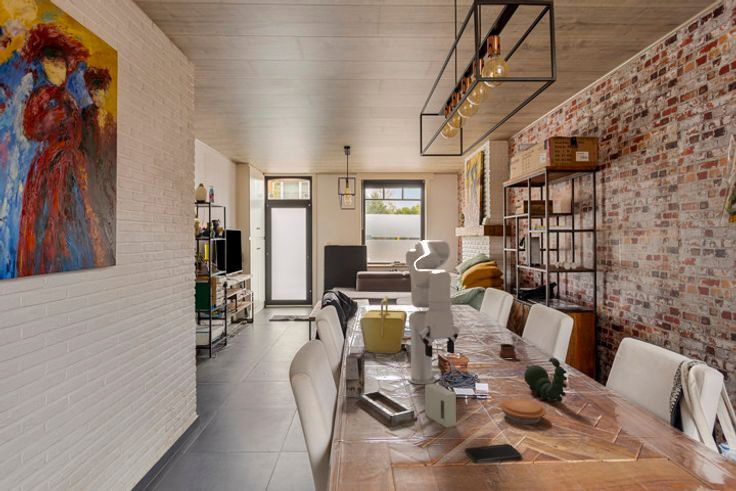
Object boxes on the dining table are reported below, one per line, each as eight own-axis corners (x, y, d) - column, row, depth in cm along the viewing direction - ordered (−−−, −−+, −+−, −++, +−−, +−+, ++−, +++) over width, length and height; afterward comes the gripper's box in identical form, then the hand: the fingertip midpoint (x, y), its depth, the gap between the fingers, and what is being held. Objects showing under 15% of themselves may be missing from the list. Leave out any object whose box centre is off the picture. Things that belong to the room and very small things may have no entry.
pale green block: (433, 412, 155) (433, 383, 155) (455, 425, 144) (455, 393, 144) (424, 415, 152) (424, 385, 152) (445, 427, 142) (445, 395, 142)
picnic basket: (366, 341, 268) (366, 294, 268) (407, 342, 265) (407, 295, 265) (359, 353, 239) (359, 300, 239) (404, 354, 236) (404, 301, 236)
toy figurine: (571, 410, 160) (535, 383, 185) (574, 362, 158) (537, 341, 183) (549, 412, 159) (515, 384, 183) (551, 364, 157) (517, 342, 181)
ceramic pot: (528, 356, 232) (528, 343, 232) (520, 364, 217) (520, 350, 217) (495, 352, 242) (495, 340, 242) (486, 360, 227) (485, 347, 227)
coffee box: (360, 398, 170) (360, 358, 170) (345, 397, 171) (345, 357, 171) (365, 390, 179) (365, 352, 178) (350, 389, 180) (350, 351, 180)
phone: (523, 456, 121) (474, 461, 119) (523, 460, 121) (474, 465, 119) (509, 443, 129) (463, 447, 126) (509, 447, 129) (463, 451, 126)
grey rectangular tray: (382, 398, 169) (382, 389, 169) (417, 419, 148) (417, 409, 148) (355, 403, 164) (355, 394, 164) (388, 427, 143) (388, 416, 143)
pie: (490, 413, 154) (490, 399, 154) (523, 406, 160) (523, 393, 160) (521, 430, 140) (521, 415, 140) (555, 422, 146) (555, 408, 146)
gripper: (451, 303, 156) (451, 349, 156) (413, 306, 147) (413, 355, 147) (465, 305, 149) (465, 353, 149) (426, 309, 141) (426, 360, 141)
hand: (439, 354), depth 148 cm, fingers open, 9 cm apart
